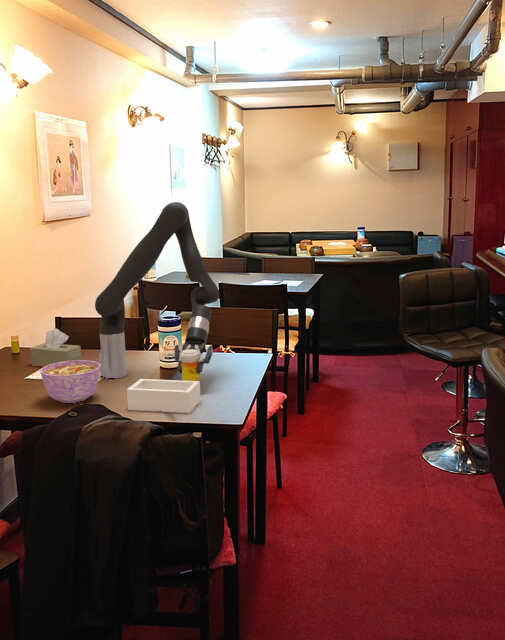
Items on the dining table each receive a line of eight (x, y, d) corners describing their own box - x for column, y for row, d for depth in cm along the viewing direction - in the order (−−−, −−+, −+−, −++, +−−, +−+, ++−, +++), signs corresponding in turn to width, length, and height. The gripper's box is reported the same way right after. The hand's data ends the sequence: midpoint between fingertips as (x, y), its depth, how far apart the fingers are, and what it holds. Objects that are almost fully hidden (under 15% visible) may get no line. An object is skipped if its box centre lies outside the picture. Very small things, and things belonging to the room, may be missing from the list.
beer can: (197, 395, 221) (195, 353, 219) (180, 394, 223) (178, 353, 220) (202, 390, 227) (200, 349, 224) (185, 389, 229) (183, 348, 226)
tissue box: (82, 364, 266) (79, 327, 263) (67, 370, 257) (64, 332, 254) (46, 361, 273) (43, 324, 270) (30, 366, 264) (27, 329, 261)
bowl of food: (100, 388, 232) (97, 357, 230) (106, 405, 213) (103, 371, 211) (42, 395, 226) (39, 363, 223) (43, 412, 207) (40, 378, 205)
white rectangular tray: (128, 410, 208) (126, 389, 207) (141, 398, 219) (140, 378, 218) (189, 413, 204) (188, 392, 202) (200, 401, 215) (199, 381, 214)
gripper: (176, 325, 229) (166, 366, 220) (214, 326, 226) (206, 367, 217) (181, 336, 235) (172, 376, 226) (219, 337, 232) (211, 378, 223)
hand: (189, 372), depth 222 cm, fingers closed on beer can, 6 cm apart
